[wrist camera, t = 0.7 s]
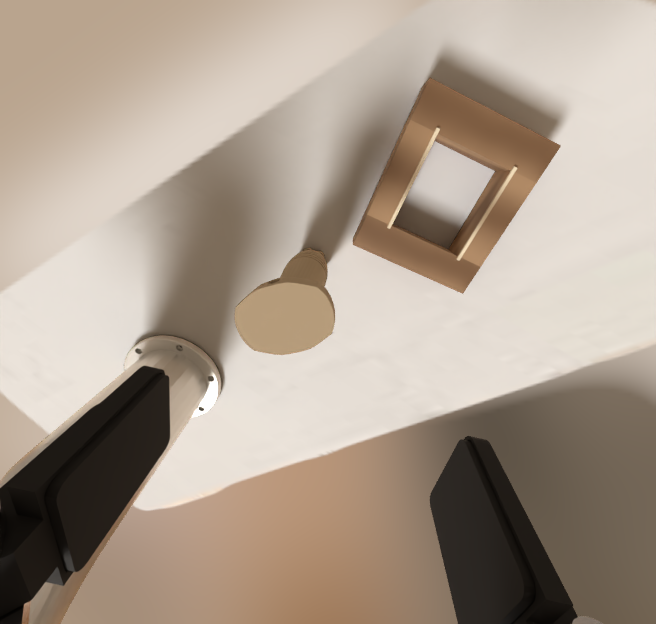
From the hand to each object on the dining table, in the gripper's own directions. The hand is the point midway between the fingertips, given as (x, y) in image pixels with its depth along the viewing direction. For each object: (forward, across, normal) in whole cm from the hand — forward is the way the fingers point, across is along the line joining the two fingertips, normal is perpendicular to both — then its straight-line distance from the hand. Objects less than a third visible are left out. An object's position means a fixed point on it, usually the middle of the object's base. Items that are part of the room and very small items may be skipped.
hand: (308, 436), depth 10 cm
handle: (+25, +3, +1) cm, 25 cm away
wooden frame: (+25, -8, -8) cm, 27 cm away
